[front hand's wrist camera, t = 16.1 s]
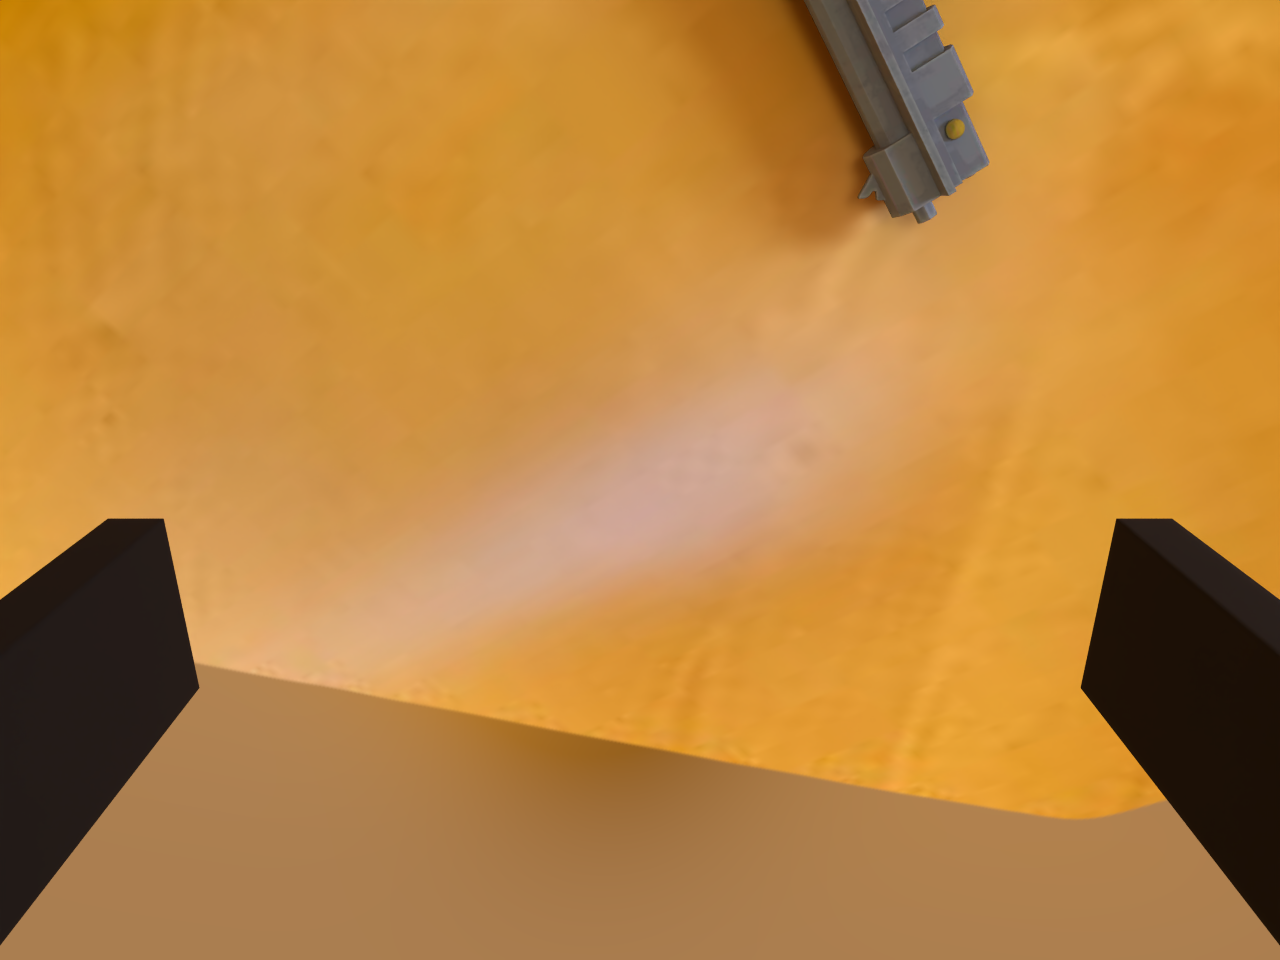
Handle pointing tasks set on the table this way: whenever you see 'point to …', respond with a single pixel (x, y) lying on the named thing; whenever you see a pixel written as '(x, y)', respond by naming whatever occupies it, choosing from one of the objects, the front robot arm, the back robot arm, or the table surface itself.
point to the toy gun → (903, 99)
